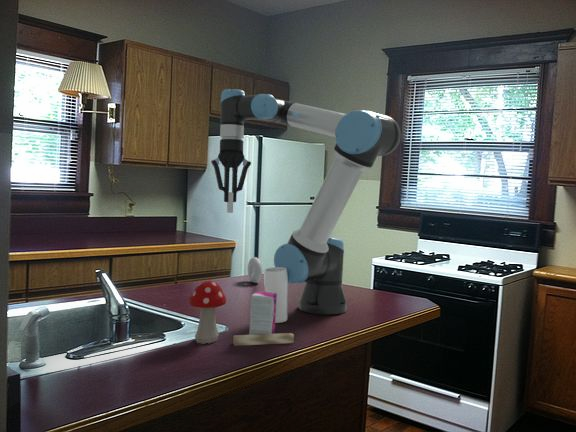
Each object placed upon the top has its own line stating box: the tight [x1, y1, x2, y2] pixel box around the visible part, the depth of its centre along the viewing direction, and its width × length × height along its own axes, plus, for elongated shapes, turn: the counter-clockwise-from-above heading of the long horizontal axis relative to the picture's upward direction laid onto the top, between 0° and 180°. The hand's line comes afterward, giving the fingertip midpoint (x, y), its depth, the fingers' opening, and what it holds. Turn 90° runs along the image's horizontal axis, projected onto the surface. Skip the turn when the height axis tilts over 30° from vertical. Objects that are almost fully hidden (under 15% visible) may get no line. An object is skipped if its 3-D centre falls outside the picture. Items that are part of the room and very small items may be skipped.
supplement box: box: [248, 291, 277, 335], centre depth 146 cm, size 6×6×12 cm
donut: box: [247, 256, 263, 284], centre depth 220 cm, size 10×4×10 cm, turn 23°
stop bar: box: [232, 332, 295, 347], centre depth 142 cm, size 15×2×2 cm, turn 106°
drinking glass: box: [263, 266, 289, 324], centre depth 162 cm, size 7×7×15 cm
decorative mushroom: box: [189, 280, 227, 345], centre depth 142 cm, size 10×9×15 cm
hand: (229, 212), depth 184 cm, fingers closed
